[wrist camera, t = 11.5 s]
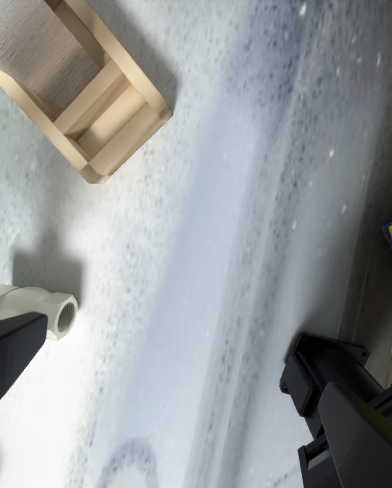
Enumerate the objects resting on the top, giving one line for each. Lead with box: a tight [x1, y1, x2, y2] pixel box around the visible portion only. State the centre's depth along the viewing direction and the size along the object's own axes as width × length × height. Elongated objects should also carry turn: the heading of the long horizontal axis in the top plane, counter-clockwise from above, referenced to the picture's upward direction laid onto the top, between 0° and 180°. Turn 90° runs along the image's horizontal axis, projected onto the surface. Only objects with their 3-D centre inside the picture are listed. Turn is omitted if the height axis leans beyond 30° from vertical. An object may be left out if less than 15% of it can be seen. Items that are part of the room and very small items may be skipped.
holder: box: [0, 0, 173, 184], centre depth 16 cm, size 12×8×2 cm
